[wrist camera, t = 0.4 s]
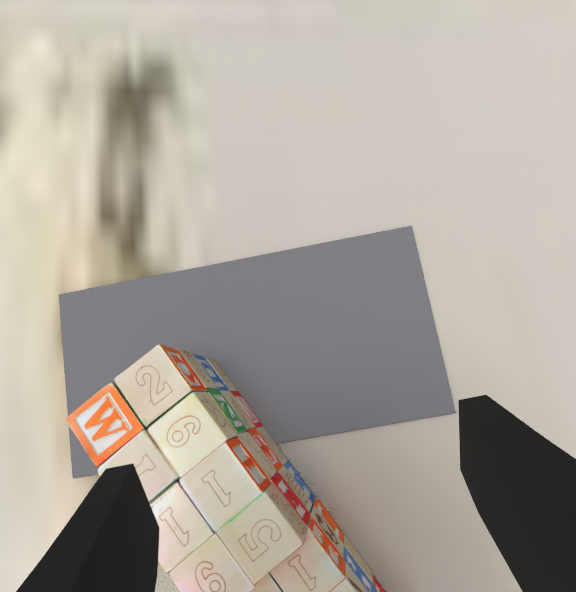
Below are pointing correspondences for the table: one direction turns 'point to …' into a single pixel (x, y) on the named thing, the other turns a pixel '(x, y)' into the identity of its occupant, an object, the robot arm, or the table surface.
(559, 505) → the robot arm
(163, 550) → the stack of blocks
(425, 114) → the table surface
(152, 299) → the mat
